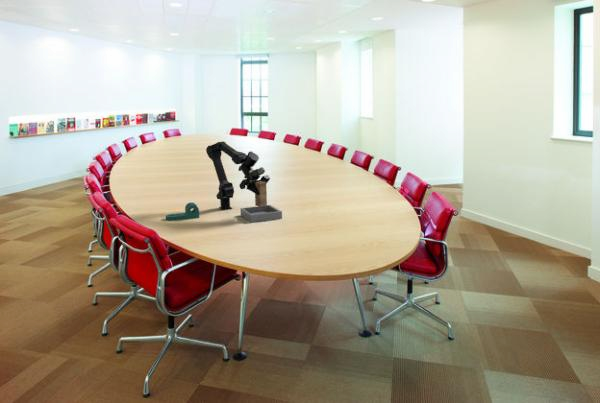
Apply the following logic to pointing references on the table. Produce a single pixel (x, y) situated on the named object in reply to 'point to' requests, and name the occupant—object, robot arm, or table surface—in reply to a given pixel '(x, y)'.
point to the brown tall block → (261, 194)
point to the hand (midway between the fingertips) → (262, 194)
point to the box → (261, 213)
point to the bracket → (187, 214)
